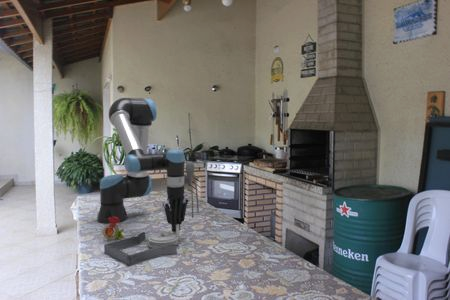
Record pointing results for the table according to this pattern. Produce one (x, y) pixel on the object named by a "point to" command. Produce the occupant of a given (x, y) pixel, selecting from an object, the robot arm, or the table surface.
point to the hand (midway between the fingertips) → (176, 238)
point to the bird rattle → (110, 231)
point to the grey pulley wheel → (162, 239)
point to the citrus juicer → (189, 176)
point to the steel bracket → (115, 252)
